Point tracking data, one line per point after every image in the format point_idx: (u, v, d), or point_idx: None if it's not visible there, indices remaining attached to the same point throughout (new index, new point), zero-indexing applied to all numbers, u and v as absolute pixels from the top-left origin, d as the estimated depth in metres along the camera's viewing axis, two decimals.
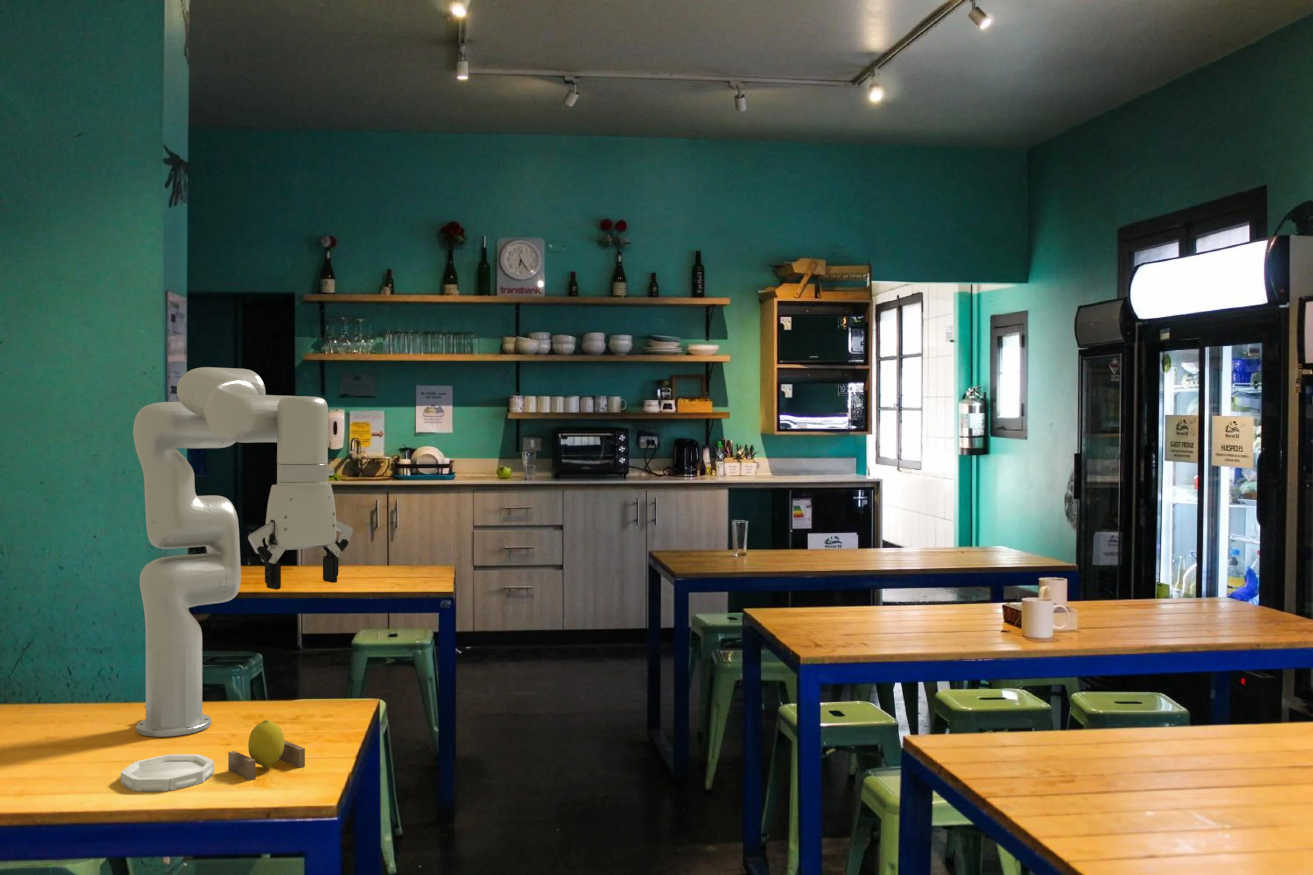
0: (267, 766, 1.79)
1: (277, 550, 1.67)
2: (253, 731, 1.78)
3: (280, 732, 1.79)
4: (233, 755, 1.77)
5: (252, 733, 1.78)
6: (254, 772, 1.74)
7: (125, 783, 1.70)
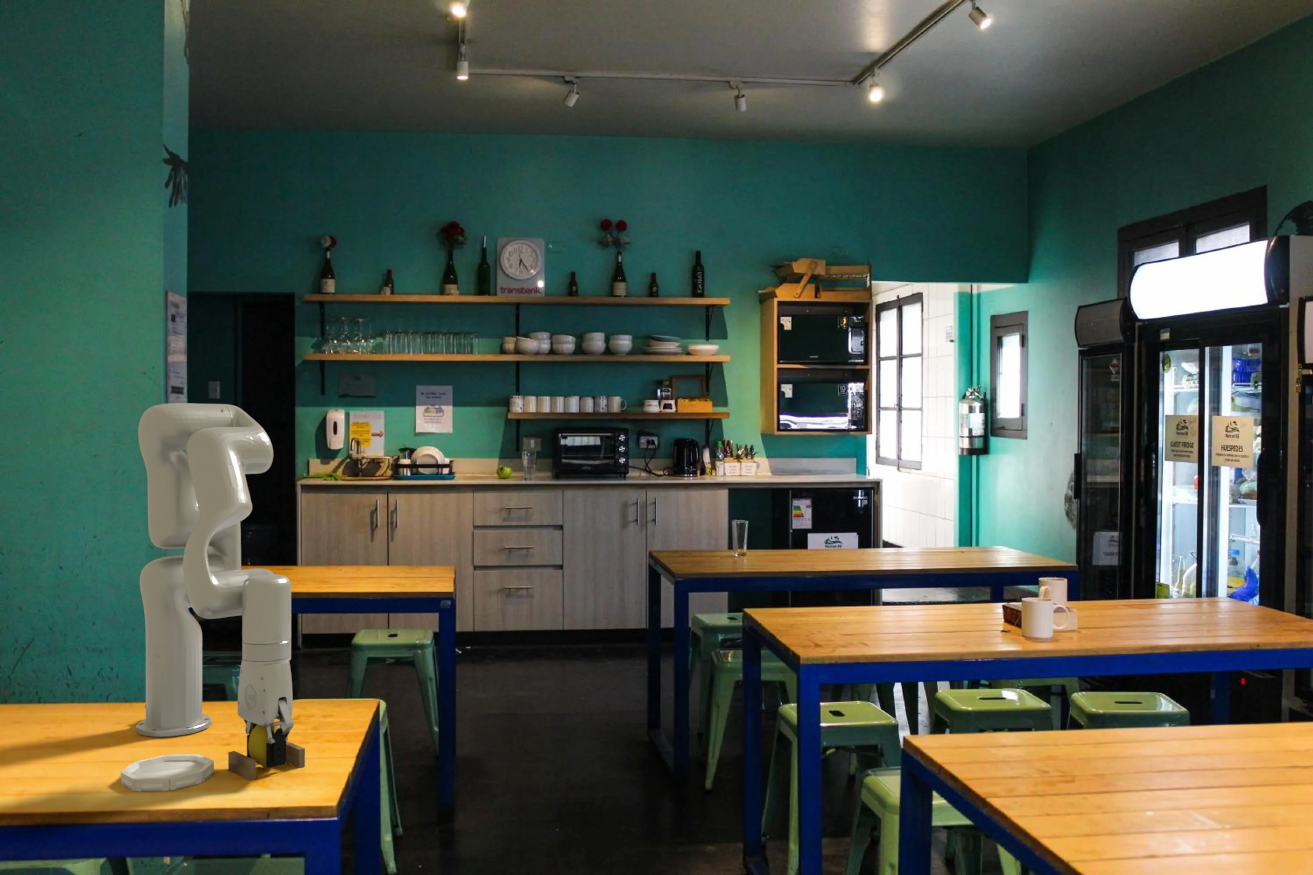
0: None
1: None
2: (253, 731, 1.78)
3: None
4: (233, 755, 1.77)
5: (252, 733, 1.78)
6: (254, 772, 1.74)
7: (125, 783, 1.70)
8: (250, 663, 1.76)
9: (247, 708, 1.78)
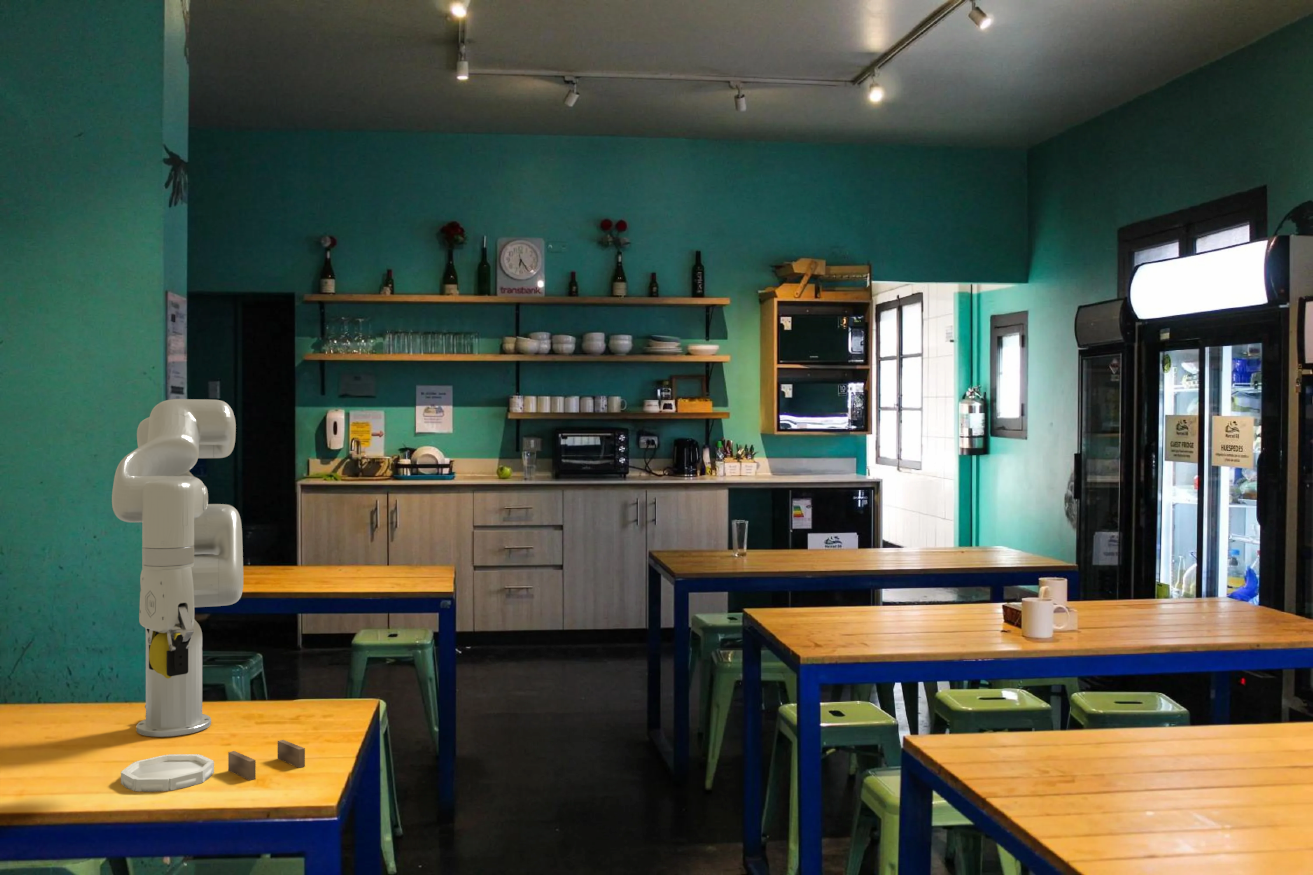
0: (169, 676, 1.74)
1: None
2: (154, 639, 1.73)
3: None
4: (233, 755, 1.77)
5: (153, 641, 1.73)
6: (254, 772, 1.74)
7: (125, 783, 1.70)
8: (149, 568, 1.70)
9: (148, 615, 1.73)
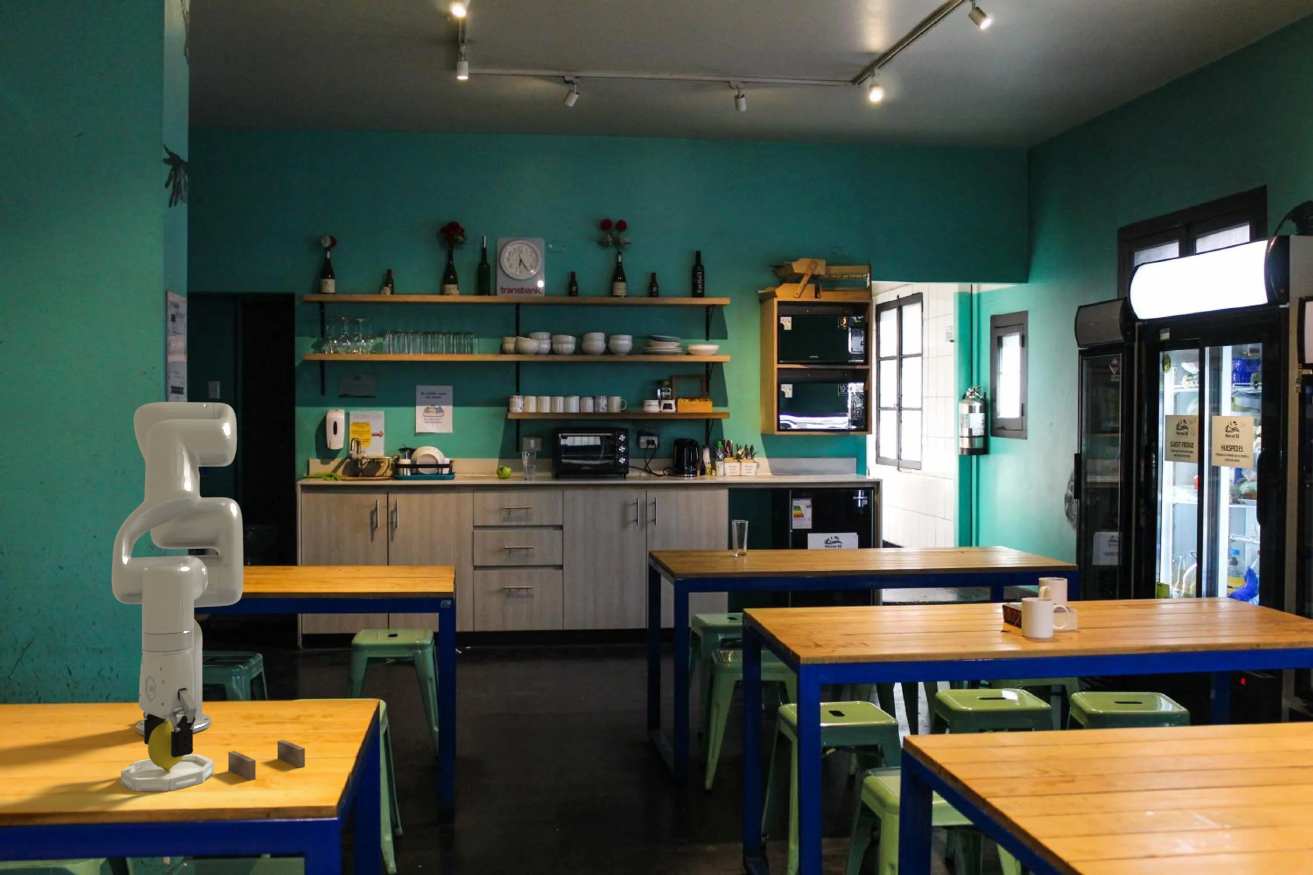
0: (168, 768, 1.74)
1: None
2: (153, 733, 1.73)
3: None
4: (233, 755, 1.77)
5: (151, 735, 1.73)
6: (254, 772, 1.74)
7: (125, 783, 1.70)
8: (149, 653, 1.71)
9: (147, 700, 1.73)
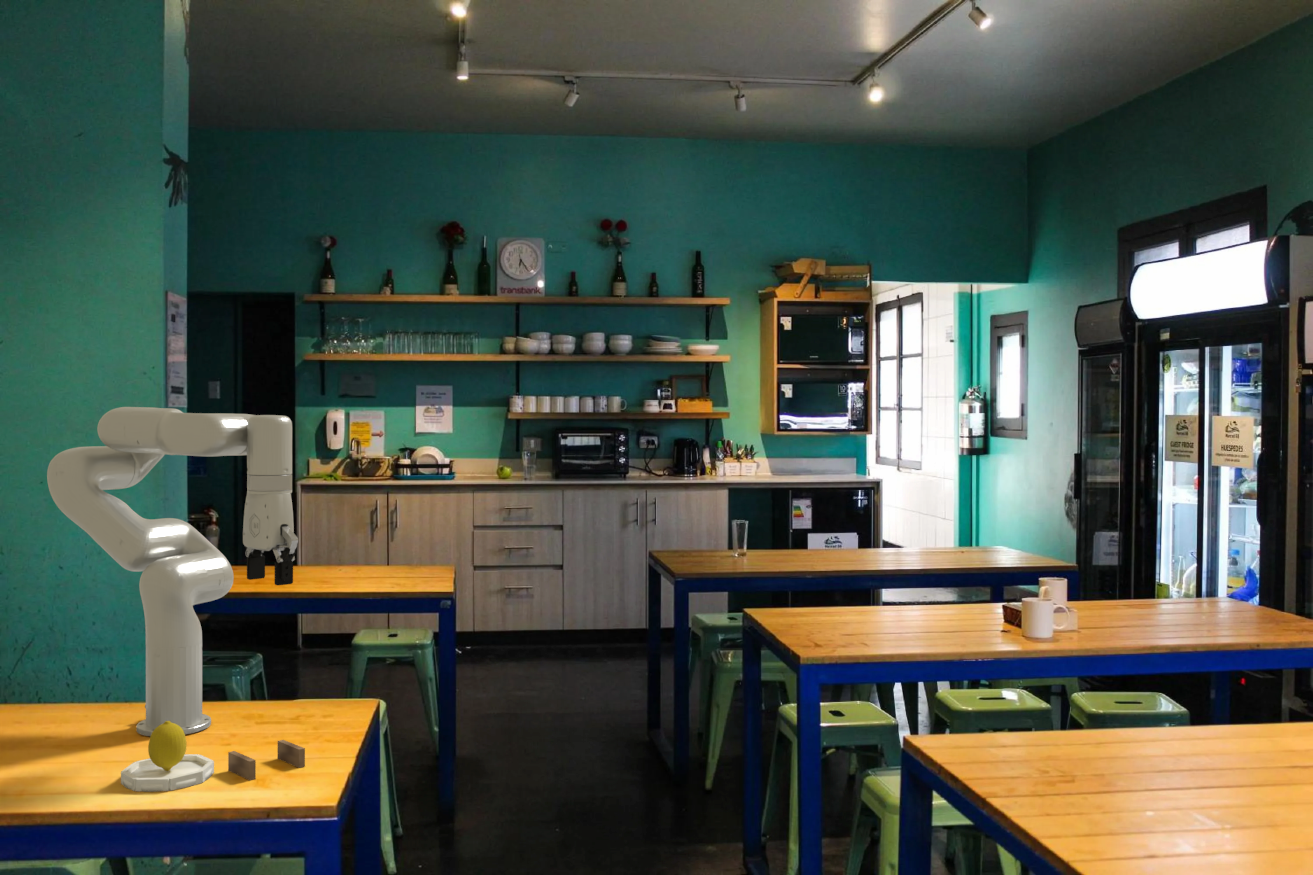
0: (168, 768, 1.74)
1: None
2: (153, 733, 1.73)
3: (181, 734, 1.74)
4: (233, 755, 1.77)
5: (152, 735, 1.73)
6: (254, 772, 1.74)
7: (125, 783, 1.70)
8: (254, 493, 1.90)
9: (252, 536, 1.93)
